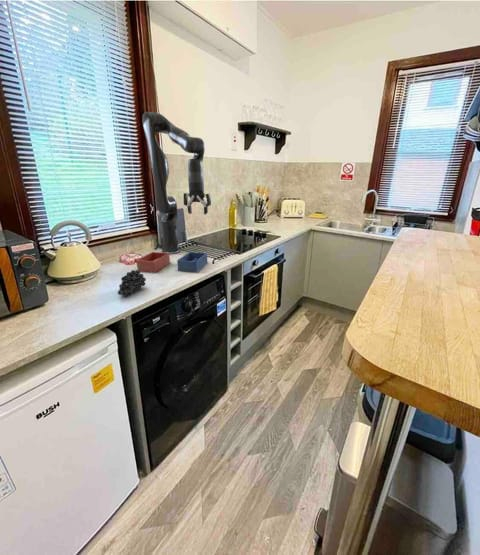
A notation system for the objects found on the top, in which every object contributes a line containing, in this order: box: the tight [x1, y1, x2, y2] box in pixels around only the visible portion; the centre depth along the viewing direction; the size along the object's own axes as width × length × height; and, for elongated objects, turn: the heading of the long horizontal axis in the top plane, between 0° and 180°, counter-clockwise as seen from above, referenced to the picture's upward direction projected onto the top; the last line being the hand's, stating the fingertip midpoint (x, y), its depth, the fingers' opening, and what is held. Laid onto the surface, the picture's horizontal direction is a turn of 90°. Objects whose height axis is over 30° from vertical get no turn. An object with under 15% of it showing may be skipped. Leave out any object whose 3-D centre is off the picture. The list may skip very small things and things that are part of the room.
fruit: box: [117, 269, 147, 298], centre depth 113 cm, size 9×8×15 cm
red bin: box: [135, 251, 171, 273], centre depth 143 cm, size 10×15×6 cm
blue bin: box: [176, 251, 208, 273], centre depth 143 cm, size 10×15×6 cm
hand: (197, 213), depth 144 cm, fingers open, 8 cm apart
